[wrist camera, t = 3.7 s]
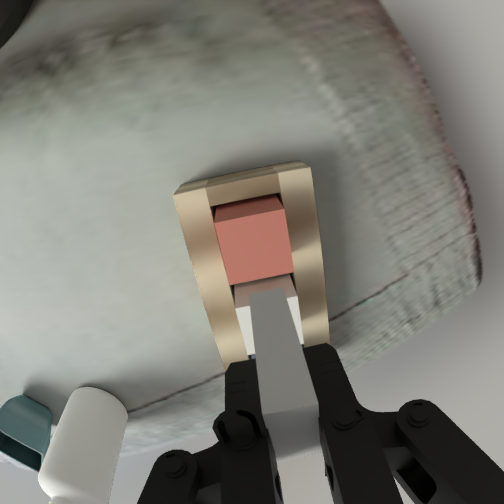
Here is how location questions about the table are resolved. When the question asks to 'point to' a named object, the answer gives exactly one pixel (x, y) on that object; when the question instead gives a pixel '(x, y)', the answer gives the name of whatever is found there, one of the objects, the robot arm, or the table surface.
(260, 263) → the red key
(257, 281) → the white key
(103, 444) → the potion bottle
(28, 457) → the flower pot
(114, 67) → the table surface
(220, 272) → the wooden block holder
